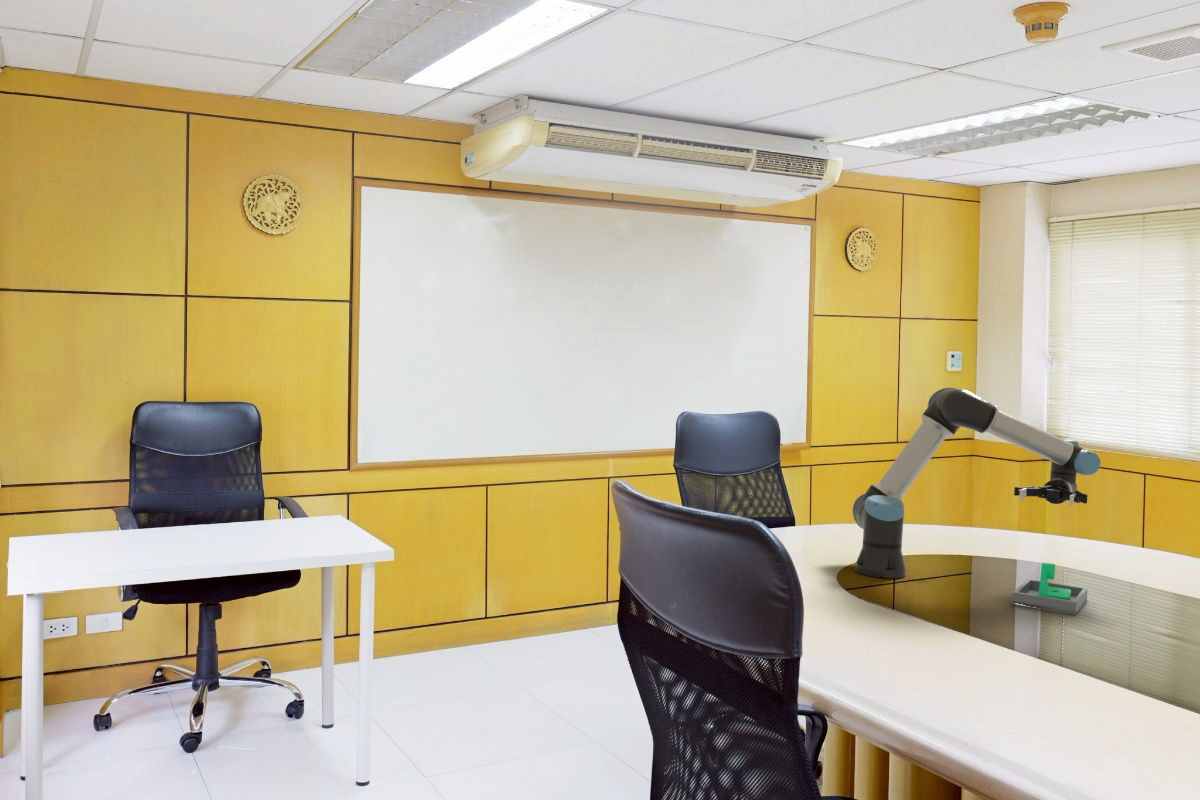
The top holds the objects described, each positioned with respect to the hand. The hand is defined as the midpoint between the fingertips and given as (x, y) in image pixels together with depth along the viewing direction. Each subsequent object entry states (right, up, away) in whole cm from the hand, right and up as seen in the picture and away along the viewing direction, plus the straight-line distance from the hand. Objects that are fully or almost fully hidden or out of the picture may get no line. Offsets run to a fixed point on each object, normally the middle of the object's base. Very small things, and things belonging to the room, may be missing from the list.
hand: (1045, 497), depth 292 cm
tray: (-4, -28, -12) cm, 31 cm away
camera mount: (-4, -28, -14) cm, 31 cm away
